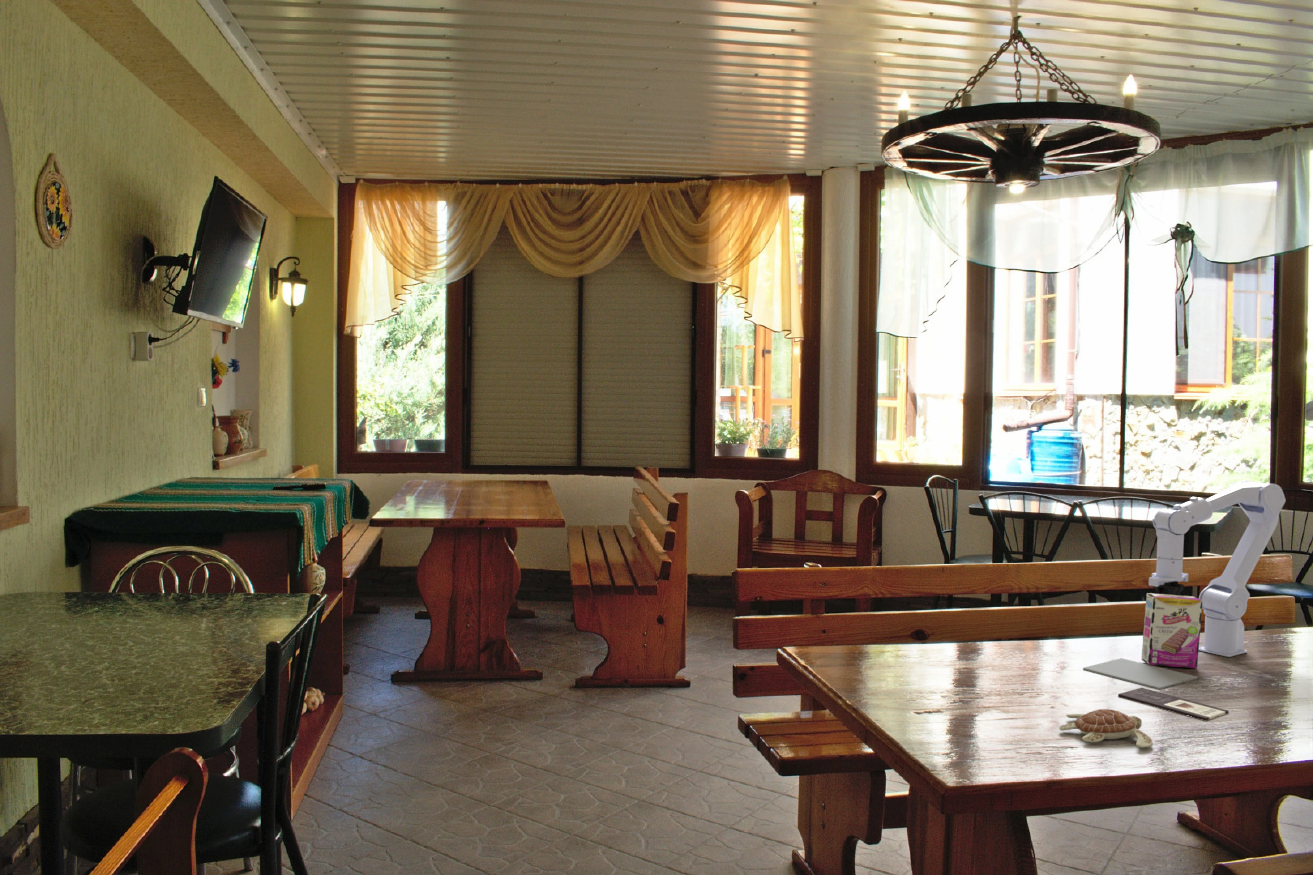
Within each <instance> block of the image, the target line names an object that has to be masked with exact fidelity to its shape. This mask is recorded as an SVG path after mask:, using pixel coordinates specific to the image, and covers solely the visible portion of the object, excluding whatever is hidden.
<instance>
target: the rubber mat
mask: <svg viewBox="0 0 1313 875" xmlns="http://www.w3.org/2000/svg"><path fill="white" fill-rule="evenodd" d="M1082 670H1083V671H1087V672H1092V673H1096V674H1100V675H1103V676H1106V677H1110V678H1114V679H1118V680H1120V681H1121V680H1122V681H1126V682H1130V683H1134V684H1137V685H1141V686H1145V687H1149V688H1153V689H1156V690H1163V689H1166V688H1170V687H1173V685H1174V686H1177V685H1180V684H1183V682H1184V683H1186V682H1190V681H1194V680H1197V678H1198V676H1196V675H1191V674H1189V673H1184V672H1179V671H1176V670H1171V669H1167V668H1165V667H1163V668H1162V667H1161V666H1160V667H1159V666H1157V665H1149V664H1147V663H1142V662H1139V661H1135V660H1132V659H1127V658H1122V657H1121V658H1118V659H1112V660H1109V661H1105V662H1101V663H1098V664H1093V665H1089V666H1085V667H1082Z"/></svg>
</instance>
